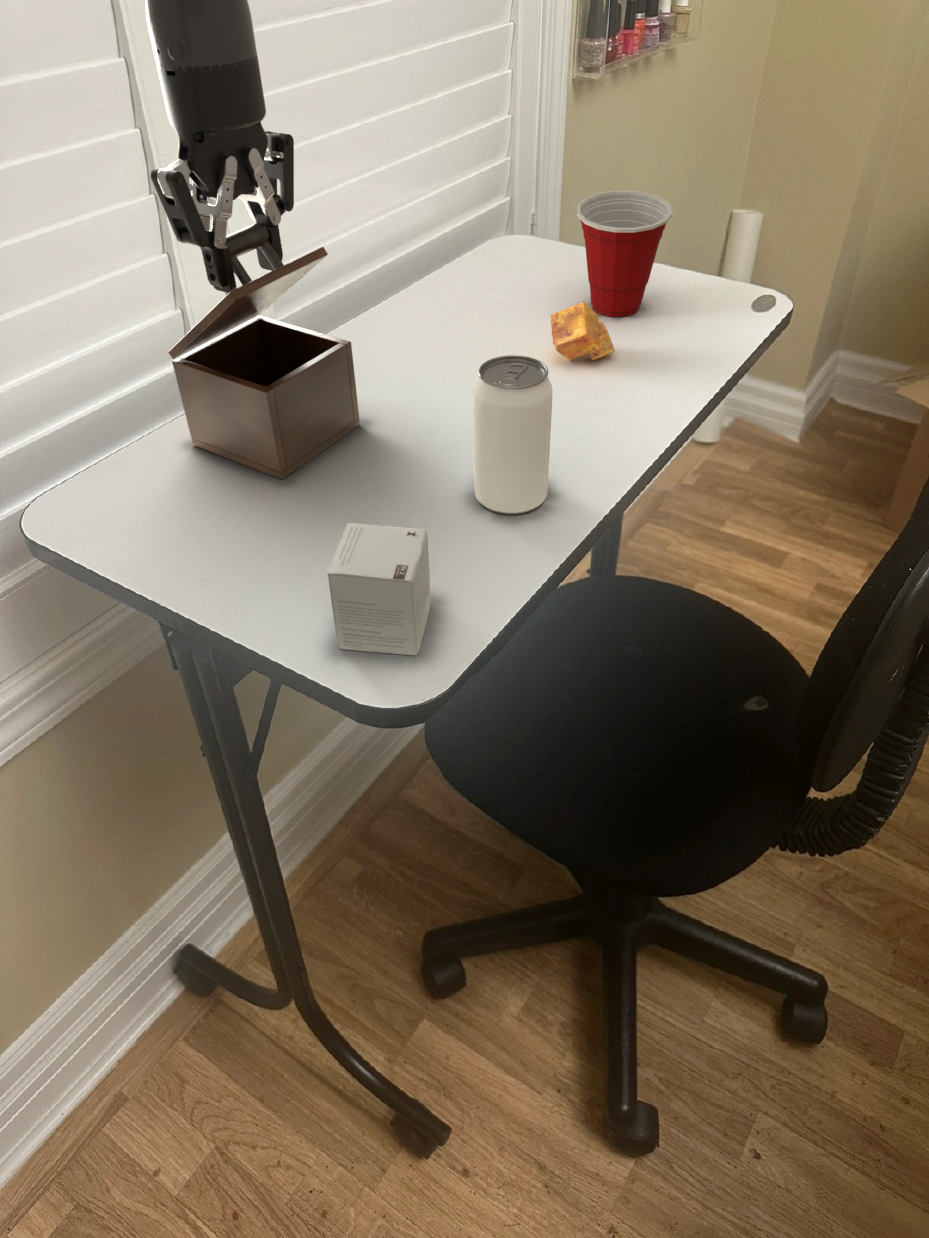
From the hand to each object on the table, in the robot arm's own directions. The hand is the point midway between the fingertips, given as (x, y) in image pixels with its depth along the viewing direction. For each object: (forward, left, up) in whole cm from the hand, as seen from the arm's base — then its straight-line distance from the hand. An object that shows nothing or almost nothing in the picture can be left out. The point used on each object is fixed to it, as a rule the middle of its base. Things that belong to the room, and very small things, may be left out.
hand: (248, 278), depth 79 cm
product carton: (+4, -31, -16) cm, 35 cm away
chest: (0, 0, -16) cm, 16 cm away
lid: (0, 0, -3) cm, 3 cm away
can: (+18, -17, -16) cm, 30 cm away
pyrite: (+34, +6, -16) cm, 38 cm away
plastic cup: (+43, +17, -16) cm, 49 cm away
